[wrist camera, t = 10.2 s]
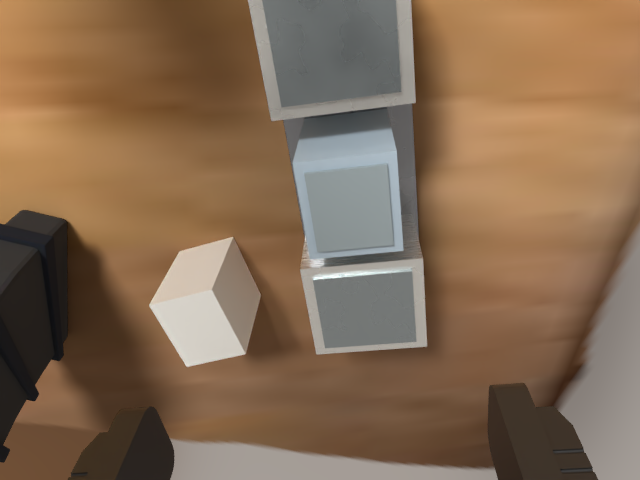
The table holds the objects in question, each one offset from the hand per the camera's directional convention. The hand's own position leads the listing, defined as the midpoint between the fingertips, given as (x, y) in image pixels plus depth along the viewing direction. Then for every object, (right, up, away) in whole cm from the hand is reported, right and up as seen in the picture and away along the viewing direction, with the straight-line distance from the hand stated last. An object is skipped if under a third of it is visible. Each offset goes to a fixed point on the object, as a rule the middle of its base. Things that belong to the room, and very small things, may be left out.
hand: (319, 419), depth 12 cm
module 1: (-7, +2, +23) cm, 24 cm away
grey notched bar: (+2, +10, +18) cm, 20 cm away
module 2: (+2, +9, +16) cm, 19 cm away
